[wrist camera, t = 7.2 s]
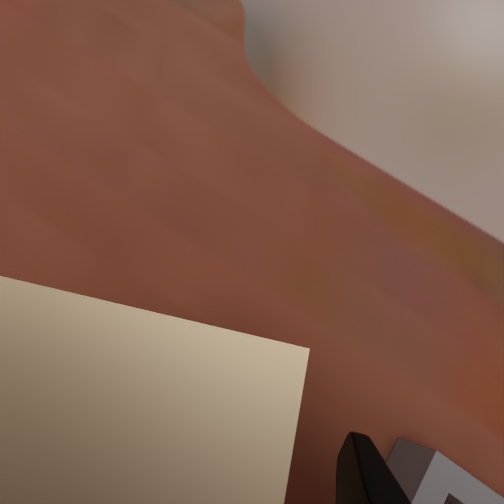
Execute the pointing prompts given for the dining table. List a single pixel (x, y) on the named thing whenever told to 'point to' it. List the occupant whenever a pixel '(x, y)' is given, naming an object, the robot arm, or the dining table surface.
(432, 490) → the toolbox
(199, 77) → the dining table surface
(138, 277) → the dining table surface
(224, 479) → the wooden block
